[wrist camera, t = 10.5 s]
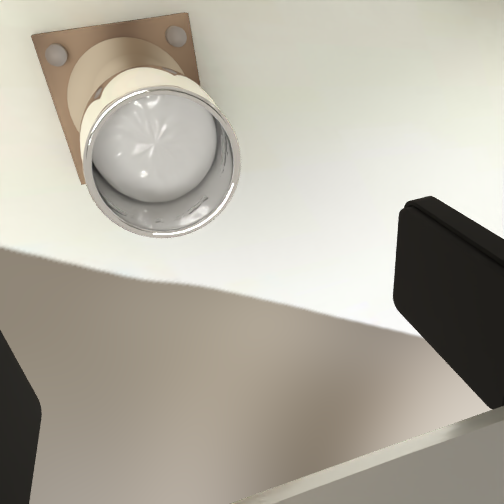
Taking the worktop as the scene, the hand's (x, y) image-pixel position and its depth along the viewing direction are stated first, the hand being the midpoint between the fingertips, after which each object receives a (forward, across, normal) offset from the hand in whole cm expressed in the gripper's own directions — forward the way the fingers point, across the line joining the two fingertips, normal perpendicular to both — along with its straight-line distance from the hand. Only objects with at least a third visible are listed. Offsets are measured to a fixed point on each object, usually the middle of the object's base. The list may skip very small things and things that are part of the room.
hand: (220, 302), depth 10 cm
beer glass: (+25, 0, 0) cm, 25 cm away
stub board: (+26, +1, 0) cm, 26 cm away
